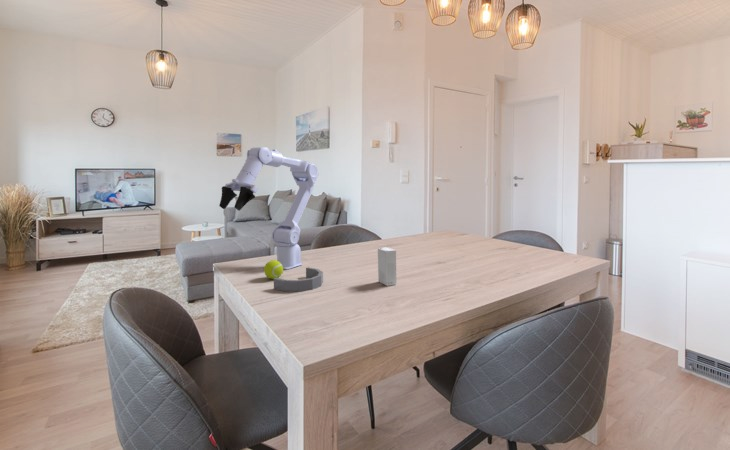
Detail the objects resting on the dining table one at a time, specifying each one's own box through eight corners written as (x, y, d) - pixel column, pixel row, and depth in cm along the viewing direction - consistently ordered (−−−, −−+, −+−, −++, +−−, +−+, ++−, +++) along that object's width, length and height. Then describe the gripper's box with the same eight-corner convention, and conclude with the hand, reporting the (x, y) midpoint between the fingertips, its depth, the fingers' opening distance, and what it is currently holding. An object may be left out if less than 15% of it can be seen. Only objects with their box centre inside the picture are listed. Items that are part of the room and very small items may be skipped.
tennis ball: (277, 275, 139) (276, 257, 138) (287, 278, 134) (286, 260, 133) (260, 278, 134) (260, 260, 133) (270, 282, 130) (269, 263, 129)
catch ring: (308, 276, 137) (308, 267, 137) (332, 281, 131) (332, 271, 131) (273, 289, 122) (273, 278, 122) (299, 294, 117) (299, 284, 116)
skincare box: (396, 284, 128) (397, 250, 126) (385, 286, 126) (386, 251, 124) (388, 280, 133) (388, 246, 132) (377, 281, 131) (377, 247, 130)
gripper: (226, 168, 131) (206, 200, 126) (254, 168, 124) (235, 202, 118) (239, 180, 137) (221, 211, 131) (267, 181, 129) (250, 214, 124)
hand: (229, 208), depth 125 cm, fingers open, 7 cm apart
